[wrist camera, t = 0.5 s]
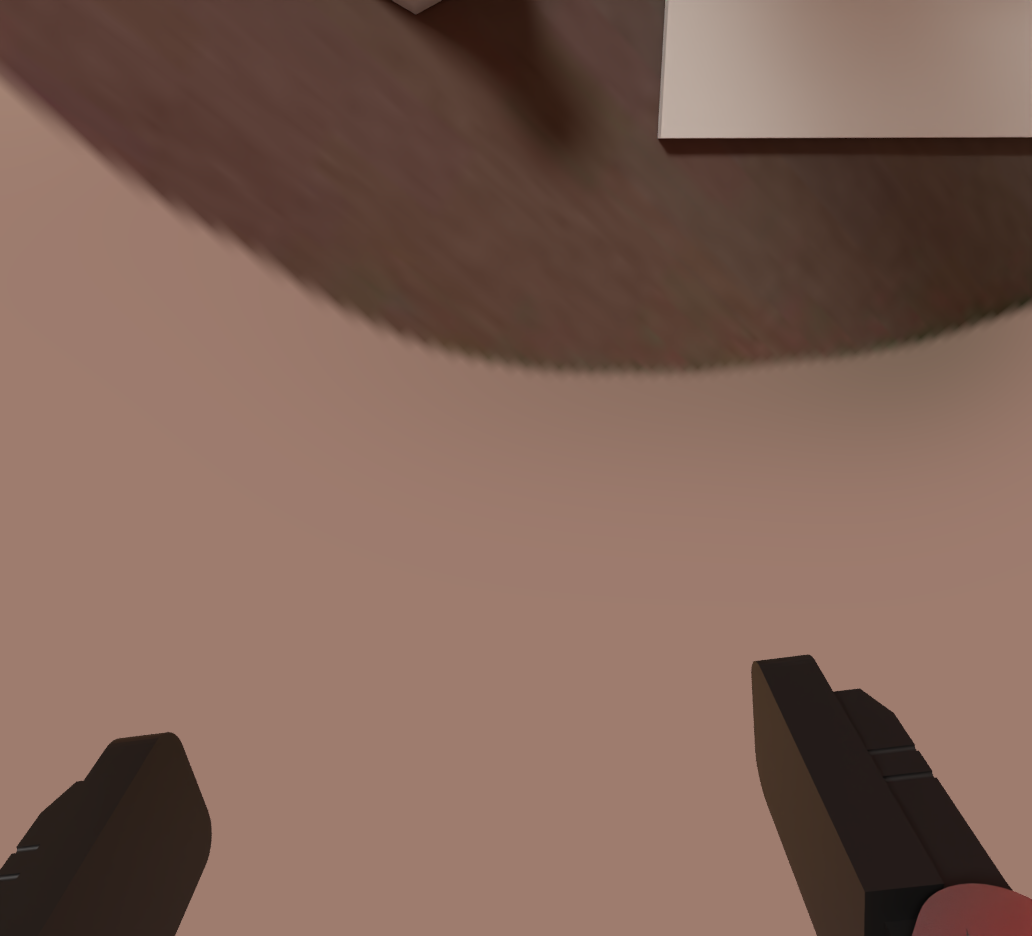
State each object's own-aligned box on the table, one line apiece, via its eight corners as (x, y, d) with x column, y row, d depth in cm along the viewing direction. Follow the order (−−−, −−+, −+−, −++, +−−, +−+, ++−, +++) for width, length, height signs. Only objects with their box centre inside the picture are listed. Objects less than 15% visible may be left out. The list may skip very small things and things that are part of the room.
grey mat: (670, -82, 31) (673, -88, 30) (1207, -85, 31) (1224, -91, 30) (657, 138, 34) (660, 137, 33) (1149, 136, 34) (1164, 136, 33)
